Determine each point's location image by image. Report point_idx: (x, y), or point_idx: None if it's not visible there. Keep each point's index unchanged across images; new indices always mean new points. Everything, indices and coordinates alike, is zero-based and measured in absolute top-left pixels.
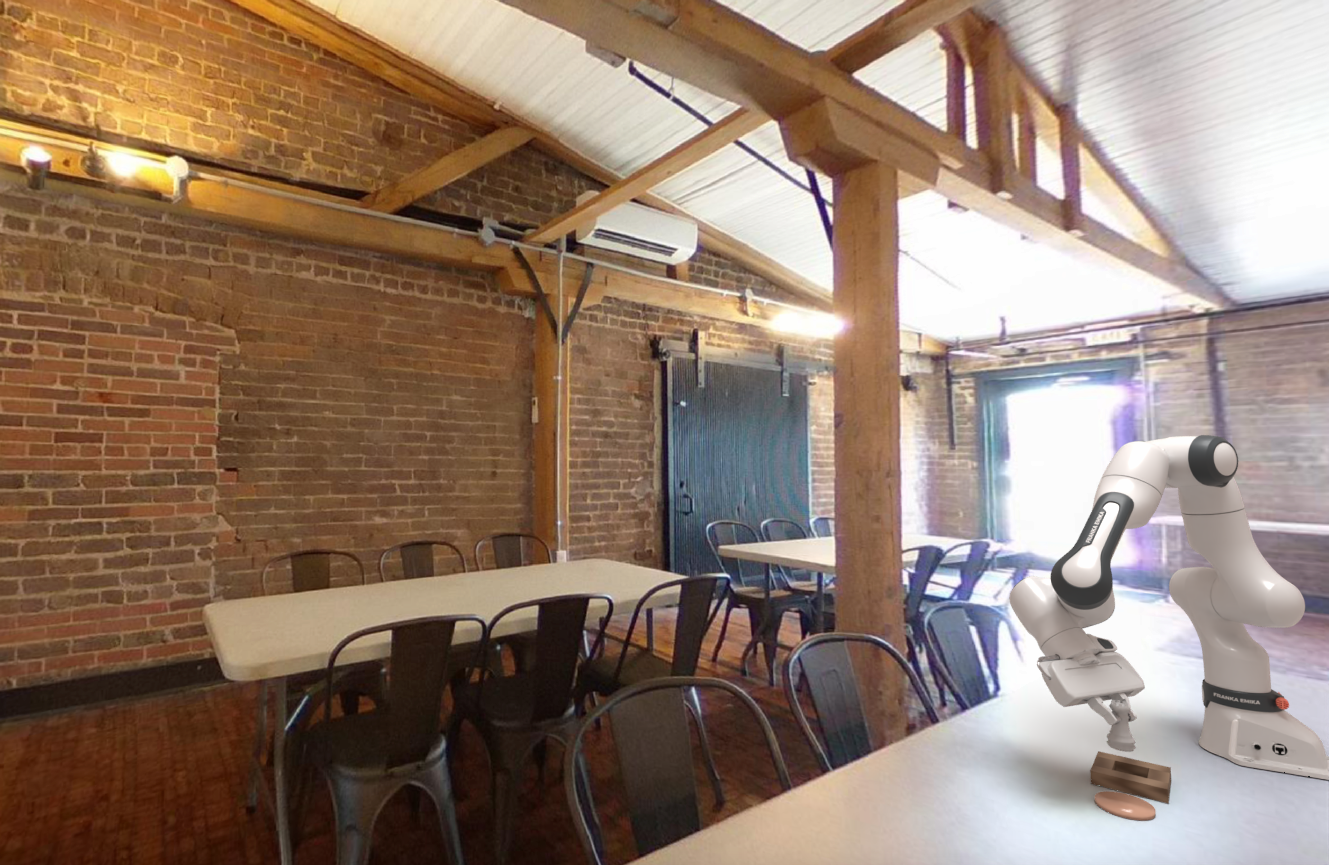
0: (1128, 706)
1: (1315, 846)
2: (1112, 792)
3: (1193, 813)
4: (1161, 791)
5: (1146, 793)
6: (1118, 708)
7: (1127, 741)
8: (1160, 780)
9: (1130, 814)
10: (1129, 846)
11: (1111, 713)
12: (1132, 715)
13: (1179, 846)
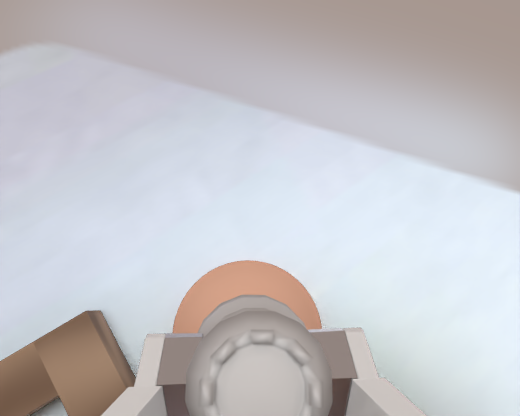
0: (141, 399)
1: (6, 57)
2: None
3: (96, 248)
4: (97, 325)
5: (121, 358)
6: (319, 350)
7: (276, 305)
8: (35, 366)
9: (296, 280)
10: (419, 192)
11: (366, 364)
12: (181, 339)
13: (305, 155)
